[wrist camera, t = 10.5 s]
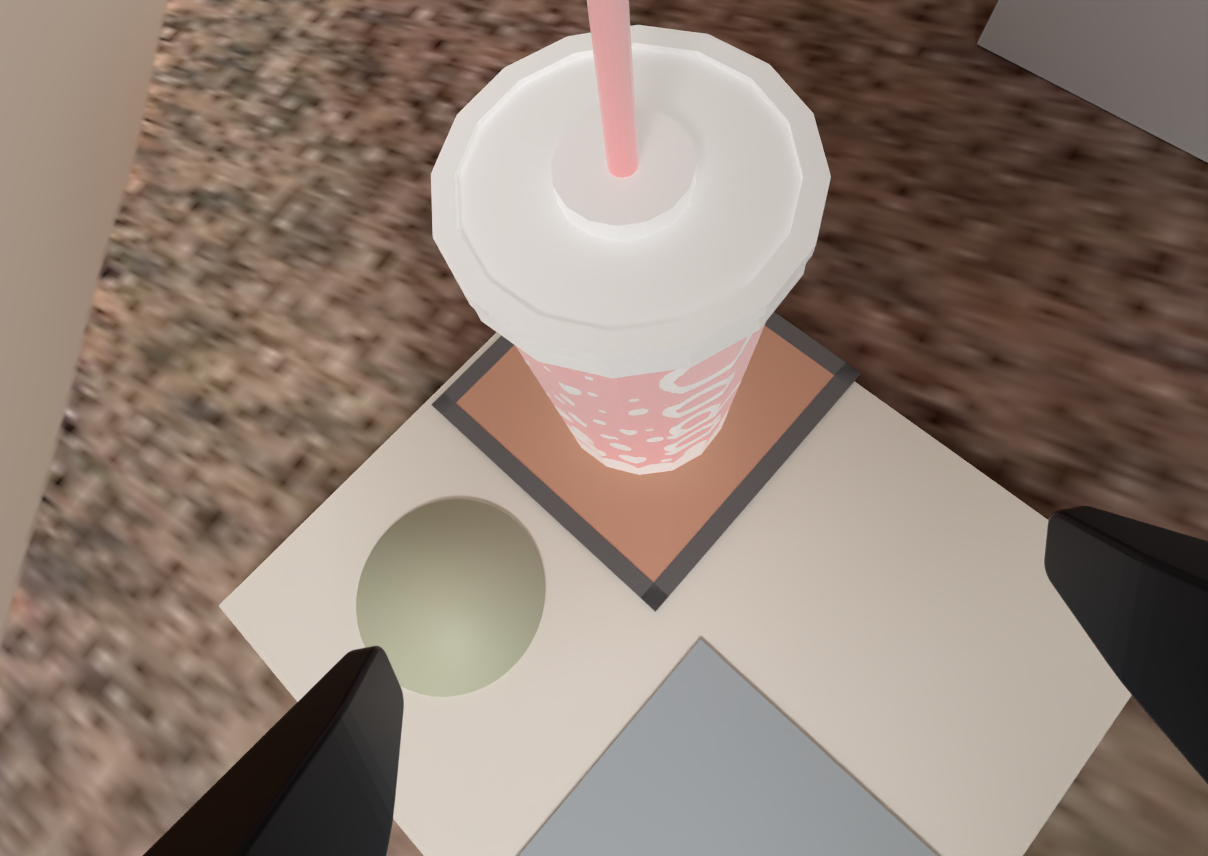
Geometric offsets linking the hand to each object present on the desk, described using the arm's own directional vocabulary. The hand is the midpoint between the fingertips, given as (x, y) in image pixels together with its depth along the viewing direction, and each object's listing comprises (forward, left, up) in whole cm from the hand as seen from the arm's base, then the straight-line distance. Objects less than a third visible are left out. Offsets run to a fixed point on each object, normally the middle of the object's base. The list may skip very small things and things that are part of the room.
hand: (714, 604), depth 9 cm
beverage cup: (+4, +5, -8) cm, 10 cm away
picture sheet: (0, +1, -9) cm, 9 cm away
